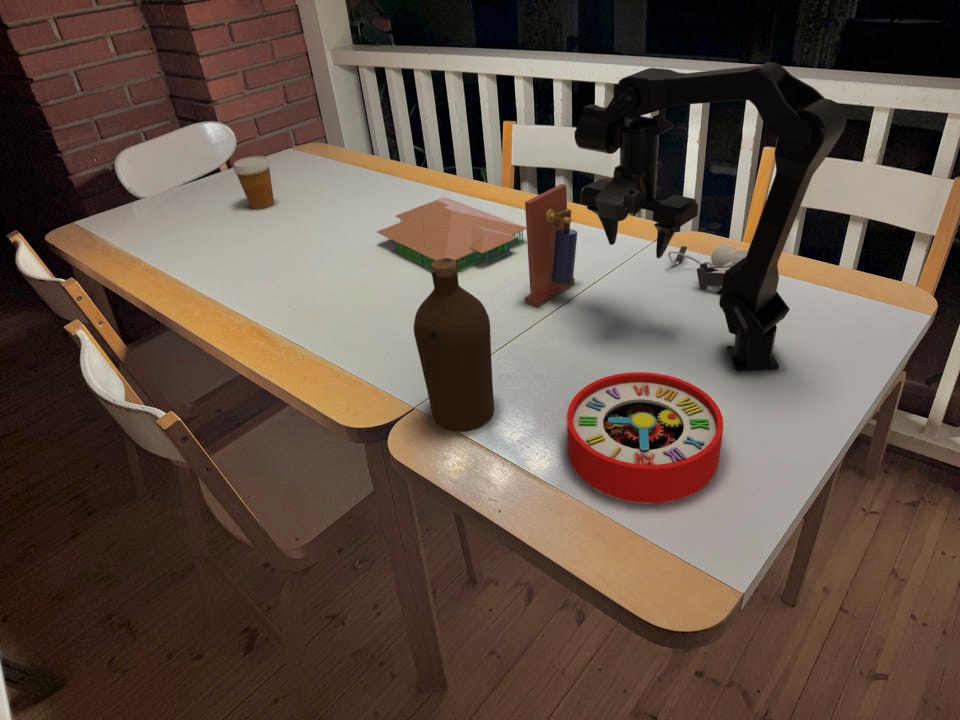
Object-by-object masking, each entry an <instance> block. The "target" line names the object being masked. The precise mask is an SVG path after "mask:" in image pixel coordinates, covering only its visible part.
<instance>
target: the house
mask: <svg viewBox="0 0 960 720" xmlns="http://www.w3.org/2000/svg"><path fill="white" fill-rule="evenodd" d="M395 217H396V218H397V219H400V222H398V223H396V224H392V225H390V226H387V227H385V228H382V229H379V230H377V231H376V234H379V235H380V236H384V237H386V238H387V239H390V240H392V241H393V242H394V243H395V249H396V252H398V253H400V254H401V255H403V256H405V257H407V258H409V259H412V260H413V261H415V262H417V263H419V264H421V265H424V266H425V267H427V268H429V269H431V270H432V263H433V261H436V260H438V259H442V258H449V259H453V260H454V261H455V263H456V265H459V264H461V263H463V262H466V260H467V261H468V260H470V264H469V262H467V264H466V263H464V265H463V264H461V268H460V266H458V270H457V268H456V270H457V273H458V272H459V271H462V270H464V269H467V268H469V267H471V266H473V265H475V264H477V263H480V262H482V261H484V260H485V261H488V262H492V261H495V260H497V259H499V258H501V257H503V256H506V255H508V254H510V249H511V248H513V247H515V246H518V245H520V244H522V243H524V235H523V233H524V232H523V231H525V230H527V228H526V226H524V225H522V224H518V223H515V222H513V221H510V220H508V219H505V218H502V217H499V216H497V215H495V214H492V213H490V212H489V213H488V212H486V211H483V210H481V209H478V208H475V207H473V206H470V205H467V204H464V203H461V202H459V201H457V200H454V199H452V198H448V197H445V196H443V197H441V198H438V199H435V200H432V201H430V202H428V203H425V204H422V205H420V206H417V207H414V208H411V209H409V210H407V211H404V212H400V213H398V214H395ZM518 235H519V236H518ZM513 241H517V244H513V243H510V242H513ZM496 248H497V250H496ZM477 252H478V253H477ZM497 253H498V254H500V253H501V255H499V256H498V257H495V258H494V257H492V260H491V254H497ZM503 253H504V254H503ZM486 254H487V255H486ZM477 255H478V256H477ZM481 255H482V256H481ZM481 257H482V259H481ZM472 258H473V259H472ZM478 258H479V261H478ZM459 259H460V260H461V261H460V260H459ZM463 259H464V260H463ZM456 261H457V262H456ZM463 266H465V267H463Z"/></svg>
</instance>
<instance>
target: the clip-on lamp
mask: <svg viewBox="0 0 960 720" xmlns="http://www.w3.org/2000/svg"><path fill="white" fill-rule="evenodd" d="M687 249H688V244H686V243H685V244H684V245H682V246H680V248H679V251H671V250H670V251H669V252H668V254H667V256H668V259H669V261H670V262H671V264H673V265H678V264H679V263H682V261H683V258H684V257H685V258H687V259H689V260H691V261H693V262H696V263H697V264H698V265H699V267H698V268H697V269H696V274H697V280H698V284H699V285H698V286H699V289H700V290H707V289H708V287H709V286H710V287H722V284H723V277H724V274H725V272H726V271H727V270H728V269H729V268H731V267H732V266H733V265H735V264H736V263H737V262H739V261H740V260H741V259H742V258H744V257H746V255H747V252H748V250H743V249H736V247H734V246H733V245H731V244H727V243H722V244H719V245H717V246H715V248H714V249H713V251H712V253H711V255H710V258H711V259H710V261H711V262H710V261H704V262H701V261H700V260H698V259H696V258H694V257H692V256H689V255H687V254H686V251H687ZM671 254H675V255H676V258H675V262H674V260H673V258H672V257H671Z"/></svg>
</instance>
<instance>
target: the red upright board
mask: <svg viewBox="0 0 960 720" xmlns="http://www.w3.org/2000/svg"><path fill="white" fill-rule="evenodd" d="M567 189H568V187H567V184H563V183H560V184H559V185H556V186H555V187H552V188H550V189H548V190H546V191H545V192H543V193H540V194H538V195H536V196H534V197H532V198H530V199H528V200H526V201H525V202H524V207H525V227H526V228H527V229H526V242H527V243H526V244H527V260H528V261H527V262H528V273H529V275H528V276H529V294H528V295H526V296H524V304H528V305H530V306H532V307H535V308H539V307H541V306H543V305H544V304H546V303H547V302H549V301H550V300H552V299H553V298H555V297H556V296H558V295H560V294H561V293H563V292H565V291H566V290H568V289H569V288H572V287H573V286H574V285H575V284H576V279H575V278H574V280H573V283H572V284H569V285H560V284H556V283H553V282H552V275H553V263H554V251H555V238H556V230H558V229H564V225H565V223H568V224H570V225H571V224H572V221H573V220H572V219H573V218H572V217H571V218H569V217H565V216H563V217H560V225H559V226H558V227H555V226H554V218H555V213H556V212H559V211H563V210H567V209H568V198H567V197H568V195H567V192H568V190H567Z"/></svg>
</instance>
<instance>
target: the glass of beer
mask: <svg viewBox="0 0 960 720" xmlns="http://www.w3.org/2000/svg"><path fill="white" fill-rule="evenodd" d="M270 166H271V162H270V161H269V159H268V157H266V156H262V155H254V156H253V155H252V156H247V157H244V158H241V159H238V160H236V161H234V163H233V170H232V171H233V172H234V173H235V174H236V176H237V179H238V181H239V183H240V185H241V187H242V190H243V193H244V194H245V197H246V199H247V201H248V204H249V206H250V208H251V209H254V210H262V209H263V210H264V209H267V208H269V207H271V206H273V205H274V204H275V199H274V191H273V185H272V178H271V170H270Z"/></svg>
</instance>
